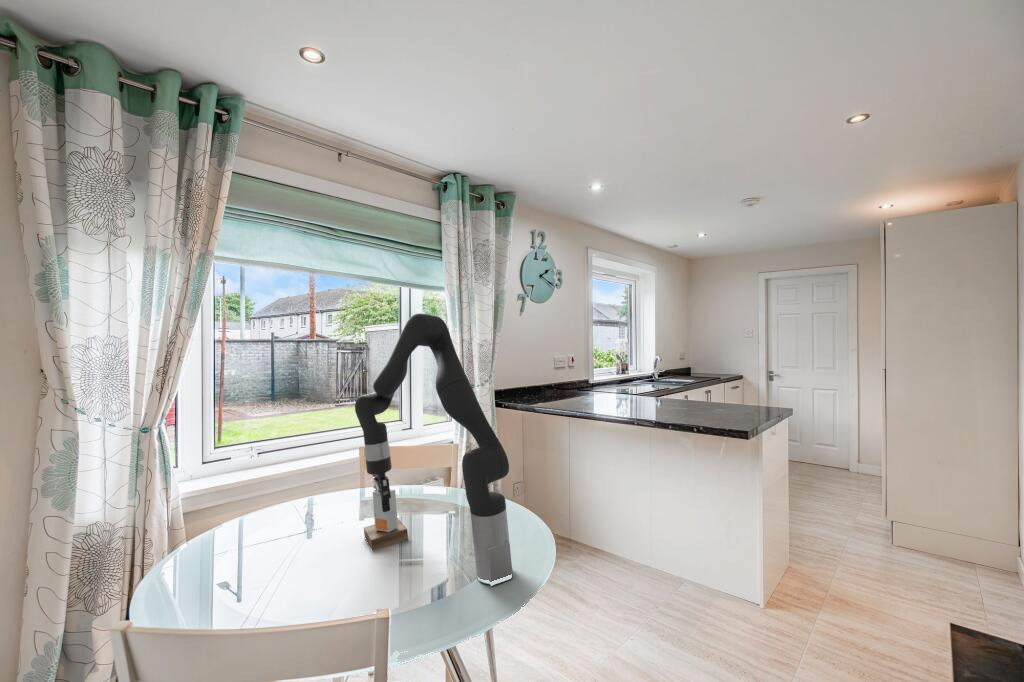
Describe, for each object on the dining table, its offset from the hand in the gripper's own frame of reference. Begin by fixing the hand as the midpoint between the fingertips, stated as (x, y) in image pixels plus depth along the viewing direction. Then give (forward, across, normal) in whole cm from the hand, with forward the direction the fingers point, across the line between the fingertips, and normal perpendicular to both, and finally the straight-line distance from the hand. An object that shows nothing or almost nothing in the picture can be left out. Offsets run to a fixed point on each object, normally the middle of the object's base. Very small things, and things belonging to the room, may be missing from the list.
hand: (383, 507), depth 144 cm
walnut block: (+11, +1, 0) cm, 11 cm away
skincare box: (+7, -1, 0) cm, 7 cm away
